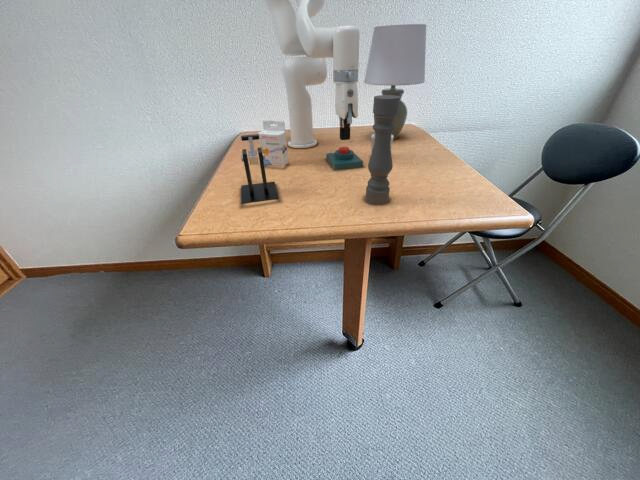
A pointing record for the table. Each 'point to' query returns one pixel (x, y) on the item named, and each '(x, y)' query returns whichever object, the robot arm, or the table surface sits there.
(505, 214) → the table surface
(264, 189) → the bracket
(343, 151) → the button
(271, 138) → the ink box
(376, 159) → the candle holder
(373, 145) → the cup
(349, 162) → the button block
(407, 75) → the lamp
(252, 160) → the lever
